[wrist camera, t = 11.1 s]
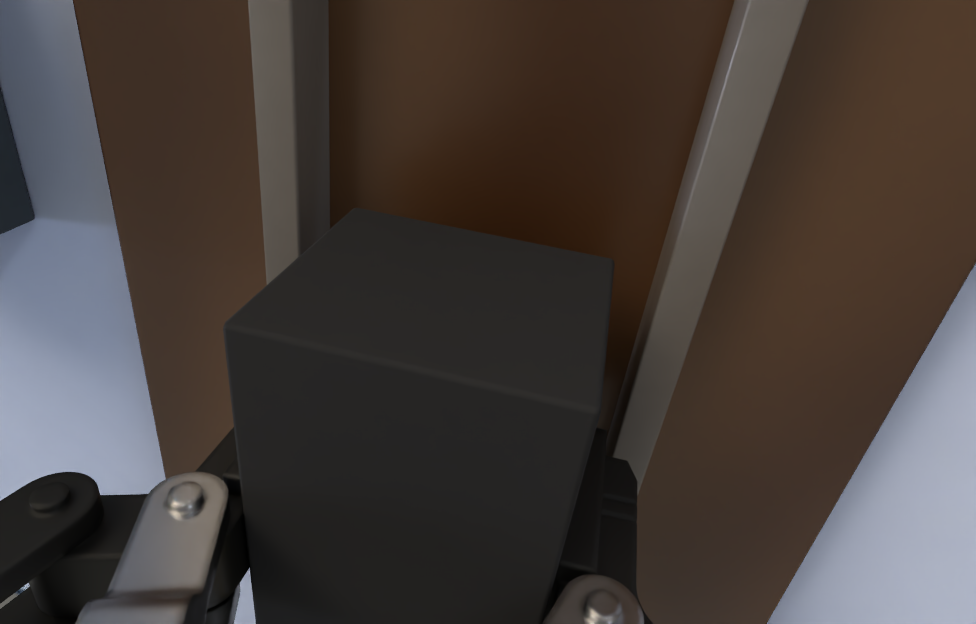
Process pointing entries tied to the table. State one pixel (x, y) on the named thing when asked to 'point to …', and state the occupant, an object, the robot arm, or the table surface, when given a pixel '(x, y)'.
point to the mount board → (579, 216)
